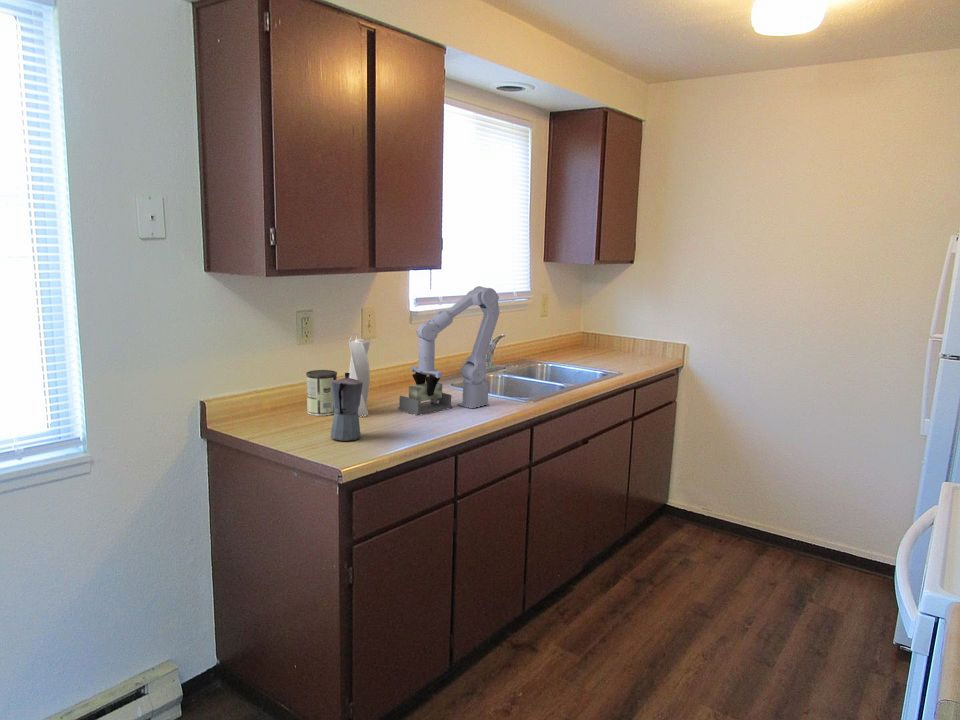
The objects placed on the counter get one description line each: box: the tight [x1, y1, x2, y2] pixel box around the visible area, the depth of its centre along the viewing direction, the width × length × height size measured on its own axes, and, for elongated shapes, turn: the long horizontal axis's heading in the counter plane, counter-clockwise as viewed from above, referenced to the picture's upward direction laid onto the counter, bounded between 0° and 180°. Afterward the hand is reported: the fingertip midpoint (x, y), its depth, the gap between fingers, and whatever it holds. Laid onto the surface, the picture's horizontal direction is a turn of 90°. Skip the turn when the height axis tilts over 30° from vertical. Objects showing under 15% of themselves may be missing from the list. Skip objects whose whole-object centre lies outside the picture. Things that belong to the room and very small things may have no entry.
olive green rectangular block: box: [408, 382, 443, 403], centre depth 239 cm, size 12×4×5 cm, turn 137°
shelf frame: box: [397, 392, 453, 416], centre depth 240 cm, size 17×10×5 cm, turn 137°
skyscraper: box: [348, 333, 371, 418], centre depth 227 cm, size 8×8×28 cm
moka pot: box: [329, 372, 363, 442], centre depth 199 cm, size 10×15×20 cm, turn 2°
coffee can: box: [305, 369, 338, 417], centre depth 229 cm, size 10×10×14 cm
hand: (425, 394), depth 239 cm, fingers closed on olive green rectangular block, 4 cm apart
